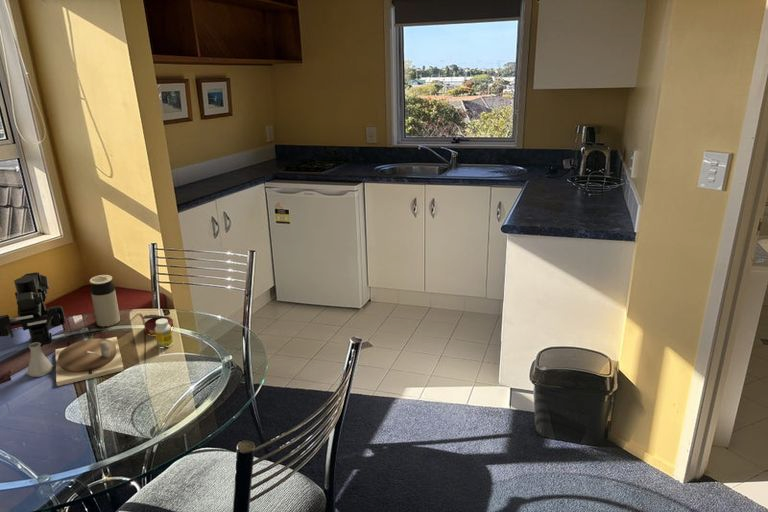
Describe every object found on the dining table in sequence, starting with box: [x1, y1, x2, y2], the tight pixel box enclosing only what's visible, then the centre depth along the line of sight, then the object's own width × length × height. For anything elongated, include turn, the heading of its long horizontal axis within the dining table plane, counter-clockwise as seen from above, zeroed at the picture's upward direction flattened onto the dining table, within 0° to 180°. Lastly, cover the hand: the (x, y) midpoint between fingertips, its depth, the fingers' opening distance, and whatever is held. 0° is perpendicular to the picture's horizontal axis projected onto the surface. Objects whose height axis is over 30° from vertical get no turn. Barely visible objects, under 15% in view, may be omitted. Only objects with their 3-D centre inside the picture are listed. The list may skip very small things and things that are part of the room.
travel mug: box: [89, 274, 121, 327], centre depth 205 cm, size 8×8×18 cm
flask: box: [26, 342, 55, 378], centre depth 177 cm, size 7×7×10 cm
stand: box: [55, 336, 125, 387], centre depth 184 cm, size 21×19×2 cm
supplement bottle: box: [155, 318, 174, 348], centre depth 194 cm, size 5×5×10 cm
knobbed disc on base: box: [58, 338, 117, 372], centre depth 182 cm, size 17×17×7 cm
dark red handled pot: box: [142, 314, 174, 335], centre depth 204 cm, size 11×10×10 cm
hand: (29, 332), depth 169 cm, fingers open, 9 cm apart
